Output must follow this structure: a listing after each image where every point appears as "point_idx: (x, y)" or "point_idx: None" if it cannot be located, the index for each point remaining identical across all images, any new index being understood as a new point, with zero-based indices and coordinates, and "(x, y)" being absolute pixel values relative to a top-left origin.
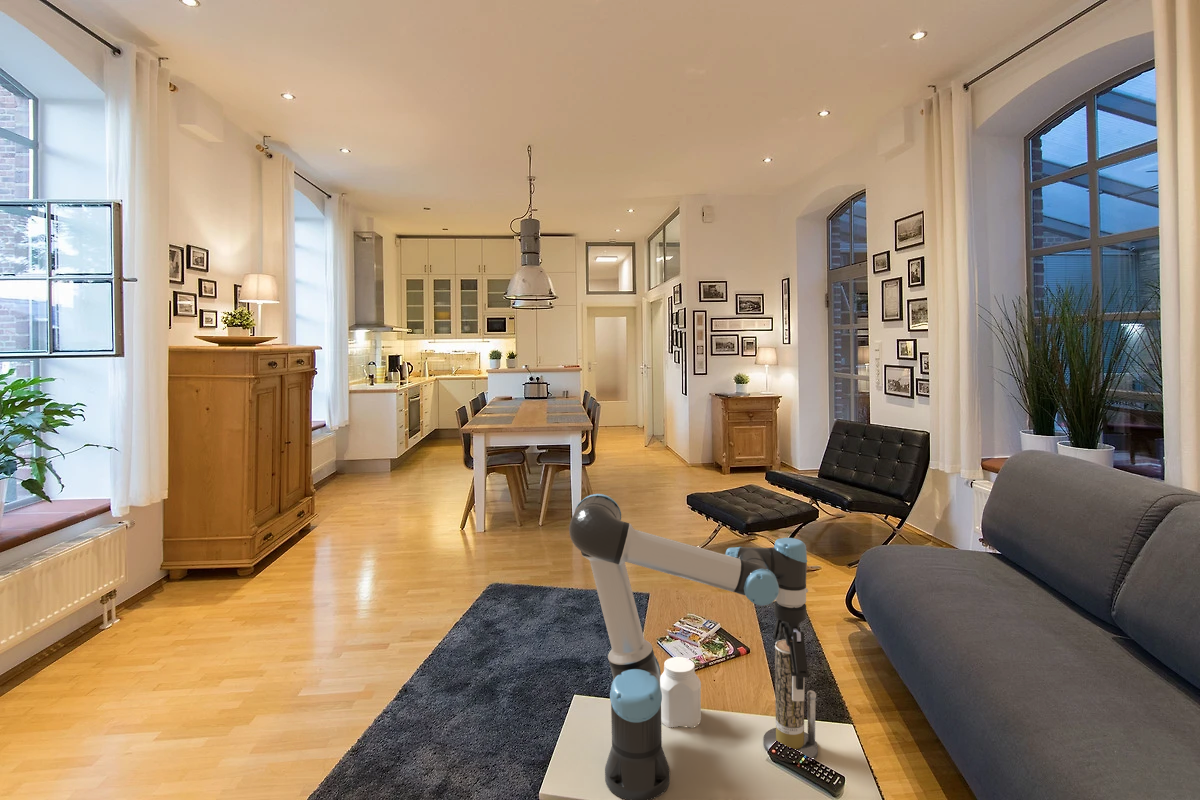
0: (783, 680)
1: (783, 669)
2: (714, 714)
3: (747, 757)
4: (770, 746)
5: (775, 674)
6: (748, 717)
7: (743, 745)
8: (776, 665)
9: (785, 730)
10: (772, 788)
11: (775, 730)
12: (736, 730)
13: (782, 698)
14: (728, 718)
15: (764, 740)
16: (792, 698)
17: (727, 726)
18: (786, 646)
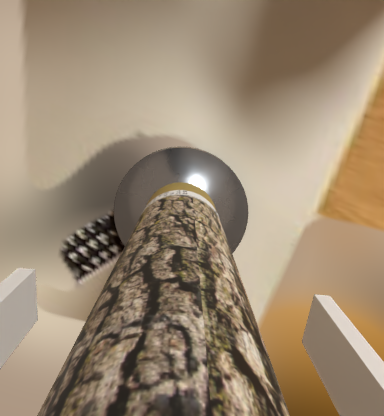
0: (108, 291)
1: (80, 349)
2: (365, 51)
3: (154, 85)
4: (170, 158)
5: (188, 270)
6: (323, 152)
7: (205, 92)
8: (157, 319)
9: (146, 206)
10: (32, 107)
11: (236, 198)
12: (273, 95)
13: (136, 238)
14: (334, 91)
15: (199, 152)
16: (19, 273)
17: (297, 74)
18: None
